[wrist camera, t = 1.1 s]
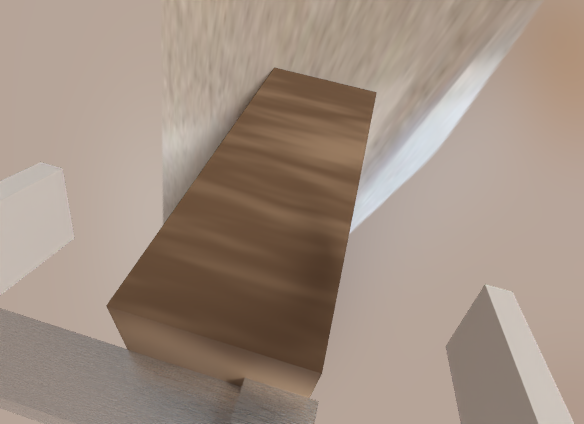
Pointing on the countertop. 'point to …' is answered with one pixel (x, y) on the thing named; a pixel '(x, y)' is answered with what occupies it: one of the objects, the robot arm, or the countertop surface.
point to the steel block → (123, 384)
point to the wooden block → (256, 242)
